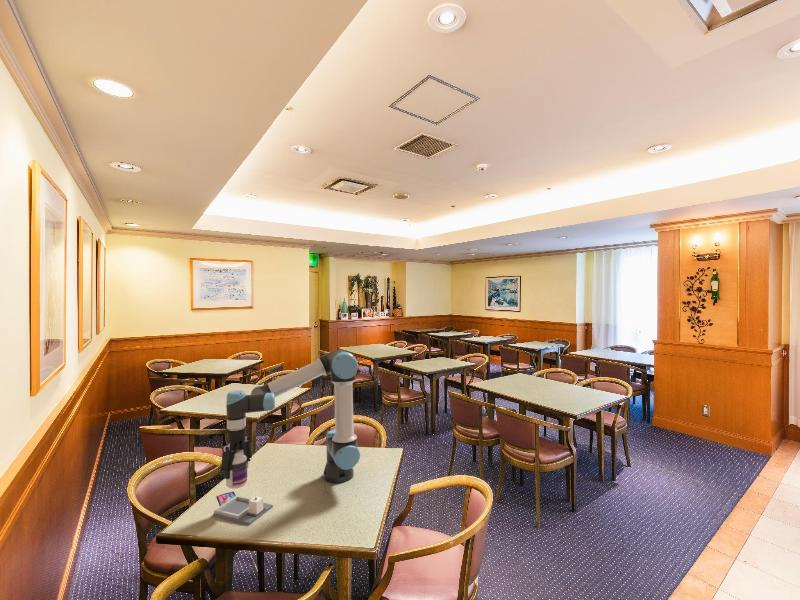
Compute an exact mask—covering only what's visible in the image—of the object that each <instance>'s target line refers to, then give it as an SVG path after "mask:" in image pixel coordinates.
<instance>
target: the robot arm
mask: <svg viewBox="0 0 800 600" xmlns="http://www.w3.org/2000/svg"><path fill="white" fill-rule="evenodd" d="M358 369H359V364H358V360H357V358H356V357H355V356H354V355H353V354H352V353H350V352H349V351H346V350H344V349H341V348H340V349H334V350H332V351H330V352H327V353H325V354H323V355H321V356H319V357H318V358H316V360H315V361H313V362H311V363H309V364H307V365H304V366H302V367H300V368H298V369H296V370H294V371H291V372H289V373H287V374H285V375H282V376H280V377H278V378H276V379H274V380H272V381H269V382H268V383H265V384H262V385H257V386H255V387H254V388H253V389H252V390H251V393H250V394H246V391H245V390H243V389H242V390H233V391H230V392H228V393H227V394H226V406H225V407H226V429H227V430H226V439H228V440H227V444H226V445H224V446H222V447H221V450H222V455H221V464H220V472H224V478H225V485H226V487H228V486H230V487H232V486H233V483H232V470H231V467H232V463H233V460H234V456H235V454H236V452H237V450H239V449H240V450H243V455H245V456H246V457H247V478H248V476H249V475H248V469H249V462H251V459H252V457H253V455H252V447H251V446H252V445H251V436H247V428H246V426H247V414H248V413H249V414H250V413H251V414H252V413H259V412H268V411H272V410H274V409H275V407H276V398H277V397H279V396H280V395H281V396H282V394H285V393H287V392H289V391H291V390H293V389H296V388H298V387H300V386H302V385H304V384H306V383H309V382H311V381H313V380H315V379H317V378H319V377H321V376H326V377H327V375H330V382H331V384H333V387H334V389H333V391H334V392H333V393H334V395H333V396H334V428H335V429H332V430H329V431H327V432H326V438H325V439H326V441H325V442H326V463H325V467H324V470H323V474H322V475H323V476H322V477H323V480H324V481H325V482H329V483H333V484H336V483H337V484H339V483H344V482H347V481H349V480H351V479H352V478H354V474H355V473H354V472H355V471H354V468H355V466H356V465H358V464H359V462H360V458H361V453H360V449H359V448H358V436H357V435H356V433H355V432H354V431H355V430H354V426H355V425H354V398H353V397H354V395H353V393H354V391H353V390H354V389H353V384H354V383H355V382H356V374H357V372H358ZM233 451H234V452H233Z"/></svg>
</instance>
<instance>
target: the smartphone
mask: <svg viewBox="0 0 800 600" xmlns="http://www.w3.org/2000/svg"><path fill="white" fill-rule="evenodd" d="M235 496H237V495H236V493H235V492H234V491H228V492H225V493H221V494H218V495H216V500H217V502H218V505H219V507H220V506H221V505H223V504H225V503H226V502H228V501H229V500H231V499H232V498H234V497H235Z"/></svg>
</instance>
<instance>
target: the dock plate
mask: <svg viewBox="0 0 800 600" xmlns="http://www.w3.org/2000/svg"><path fill="white" fill-rule="evenodd" d="M273 507H274V505H273V504H270V503H266V502H264V497H261V496H258V495H256V496H254V497H252V498H251V497H247V496H243V495H236V496H235V497H234V498H232V499H231V500H229V501H228V502H226V503H225V504H223V505H221V506H220V505H219V506H218V507H217V508H216V509H214V510H213V514H212V516H213V517H215V518H218V519H223V520H227V521H230V522H235V523H238V524H239V523H240V524H243V525H247V526H250V525H252V524H253V523H254V522H256V521H257V520H258V519H260V518H261V517H262V516H263V515H264V514H266V513H267V512H268V511H270V510H271V509H273Z"/></svg>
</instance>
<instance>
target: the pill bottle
mask: <svg viewBox="0 0 800 600" xmlns="http://www.w3.org/2000/svg"><path fill="white" fill-rule="evenodd" d="M233 452H234V451H233ZM231 470H232V483H233V486H232V487H230V486H227V488H228V489H239V488H240V489H241V488H243V487H244V486H246V484H247V483H248V477H247V457H246V456H245V455H243V450H240V449H239V450H237V452H236V454H235V456H234V460H233V463H232V467H231Z"/></svg>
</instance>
